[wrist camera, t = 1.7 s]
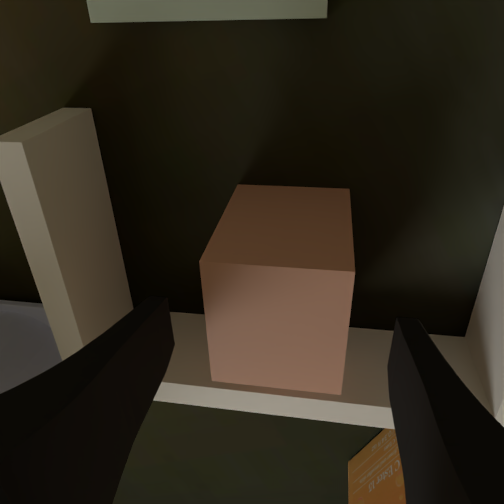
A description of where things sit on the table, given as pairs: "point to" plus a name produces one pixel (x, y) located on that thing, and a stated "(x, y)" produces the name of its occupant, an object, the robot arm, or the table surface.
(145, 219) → the table surface
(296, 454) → the table surface
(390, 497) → the small box
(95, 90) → the table surface
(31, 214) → the u-shaped wall
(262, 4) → the mat
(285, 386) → the block
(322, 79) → the table surface
